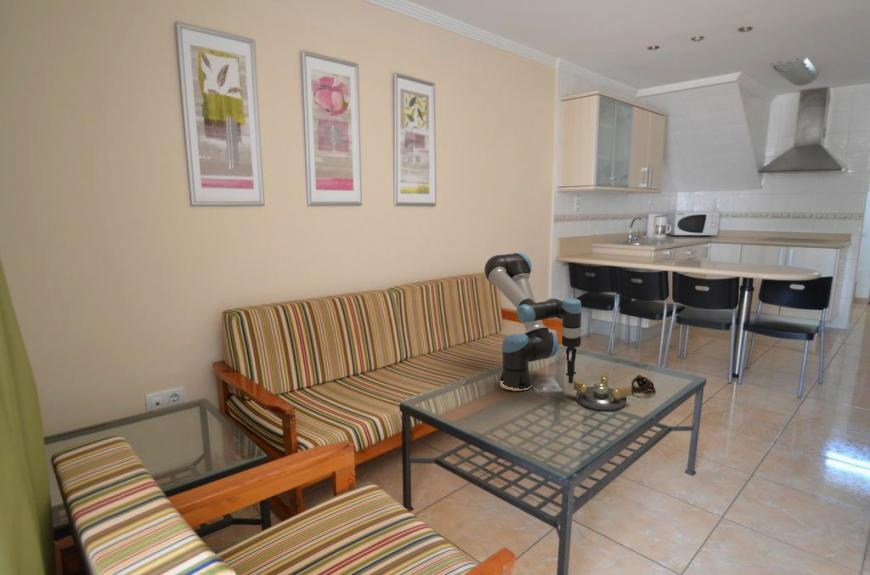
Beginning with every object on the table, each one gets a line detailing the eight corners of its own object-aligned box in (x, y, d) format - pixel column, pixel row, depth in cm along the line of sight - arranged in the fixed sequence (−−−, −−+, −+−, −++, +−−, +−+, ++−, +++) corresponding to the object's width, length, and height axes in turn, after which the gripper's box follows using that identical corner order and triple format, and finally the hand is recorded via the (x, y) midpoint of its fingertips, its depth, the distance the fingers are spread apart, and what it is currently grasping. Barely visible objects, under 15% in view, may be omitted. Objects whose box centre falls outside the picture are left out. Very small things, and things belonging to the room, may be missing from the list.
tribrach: (571, 406, 196) (571, 389, 195) (581, 387, 213) (581, 372, 212) (622, 415, 187) (623, 397, 185) (629, 395, 204) (629, 379, 202)
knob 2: (606, 390, 204) (607, 379, 203) (600, 389, 205) (600, 378, 204) (609, 382, 211) (610, 372, 210) (603, 382, 212) (603, 371, 211)
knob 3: (615, 403, 191) (615, 391, 190) (610, 400, 194) (611, 389, 193) (632, 399, 194) (632, 388, 193) (627, 396, 196) (627, 385, 195)
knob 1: (588, 396, 199) (588, 385, 198) (582, 398, 197) (583, 386, 196) (574, 389, 206) (574, 378, 205) (569, 391, 205) (569, 380, 204)
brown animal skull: (661, 397, 201) (654, 384, 198) (639, 406, 203) (632, 393, 200) (649, 380, 212) (643, 366, 209) (629, 388, 214) (623, 375, 211)
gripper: (579, 341, 190) (578, 396, 195) (581, 332, 202) (580, 384, 207) (560, 340, 193) (560, 394, 198) (563, 331, 205) (563, 382, 210)
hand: (570, 389), depth 202 cm, fingers closed
